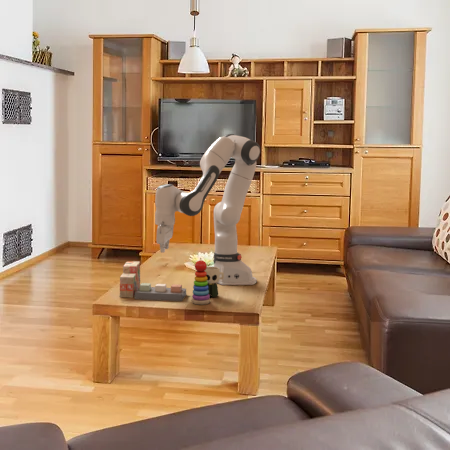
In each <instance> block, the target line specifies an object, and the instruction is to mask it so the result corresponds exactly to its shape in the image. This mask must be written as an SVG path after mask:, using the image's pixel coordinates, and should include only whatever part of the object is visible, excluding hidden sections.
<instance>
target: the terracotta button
mask: <svg viewBox="0 0 450 450" xmlns="http://www.w3.org/2000/svg"><path fill="white" fill-rule="evenodd" d="M170 288H171V292H176V293H181V292H182V288H183V285H182V284H175V283H173V284H171V285H170Z"/></svg>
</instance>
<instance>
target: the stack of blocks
mask: <svg viewBox="0 0 450 450" xmlns="http://www.w3.org/2000/svg"><path fill="white" fill-rule="evenodd" d="M122 267H123V269H122V271H123V272H122V274H121V275H120V276H119V298H135V292H136V291H137V290H138V289H139V288H140V284H141V261H135V260H133V261H126V262H125V263H124V265H123V266H122Z"/></svg>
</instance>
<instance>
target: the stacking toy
mask: <svg viewBox="0 0 450 450" xmlns="http://www.w3.org/2000/svg"><path fill="white" fill-rule="evenodd" d="M207 265H208V264H207V262H206V261H204V260H202V259H201V260H197V261H196V262H195V264H194V268H195V270H196V271H195V272H194V281H193V290H192V298H191V303H192V304H193V305H198V306H203V305H205V306H206V305H208V304H210V302H211V299H210V297H211V295H209V294H208V293H209V290H208V285H207V284H208V282H207V276H206V275H207V273H206V272H205V270H206V268H207V267H208V266H207Z"/></svg>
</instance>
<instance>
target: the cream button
mask: <svg viewBox="0 0 450 450" xmlns="http://www.w3.org/2000/svg"><path fill="white" fill-rule="evenodd" d="M154 287H155V292H166V288H167V283H156V284H155V286H154Z"/></svg>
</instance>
